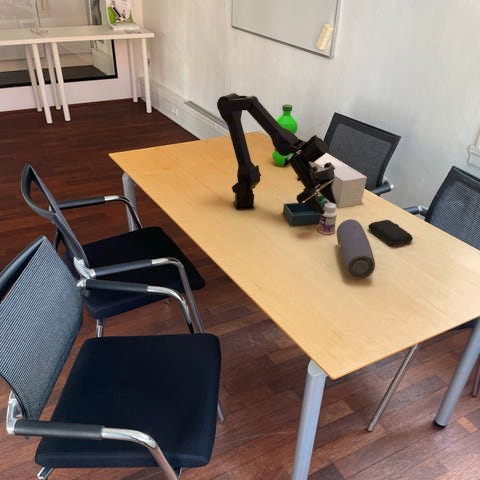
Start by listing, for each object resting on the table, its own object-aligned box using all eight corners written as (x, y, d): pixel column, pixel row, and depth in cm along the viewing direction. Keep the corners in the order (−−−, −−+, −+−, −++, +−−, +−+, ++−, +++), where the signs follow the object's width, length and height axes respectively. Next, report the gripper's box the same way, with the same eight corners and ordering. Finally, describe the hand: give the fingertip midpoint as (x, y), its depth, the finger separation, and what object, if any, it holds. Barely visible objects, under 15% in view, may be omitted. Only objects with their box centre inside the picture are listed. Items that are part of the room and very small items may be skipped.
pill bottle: (317, 227, 166) (320, 201, 160) (331, 227, 166) (336, 201, 160) (320, 234, 161) (324, 208, 155) (335, 234, 162) (340, 208, 156)
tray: (291, 226, 166) (292, 216, 163) (282, 213, 173) (283, 203, 171) (323, 223, 168) (325, 213, 166) (313, 211, 176) (314, 201, 173)
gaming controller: (318, 215, 177) (331, 206, 174) (312, 207, 176) (325, 198, 173) (320, 205, 184) (332, 196, 181) (314, 197, 183) (327, 188, 180)
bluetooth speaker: (332, 244, 156) (337, 217, 150) (359, 245, 156) (365, 218, 150) (341, 282, 139) (347, 253, 132) (372, 283, 139) (380, 254, 132)
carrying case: (416, 243, 159) (389, 224, 169) (419, 235, 157) (391, 216, 167) (391, 248, 155) (365, 229, 166) (393, 240, 153) (366, 221, 164)
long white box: (296, 177, 201) (299, 152, 194) (317, 174, 205) (321, 149, 198) (338, 207, 179) (343, 180, 172) (361, 203, 182) (367, 177, 176)
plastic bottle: (266, 164, 212) (270, 106, 196) (278, 158, 219) (283, 101, 203) (285, 169, 208) (291, 110, 192) (297, 163, 214) (303, 105, 199)
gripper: (309, 164, 144) (336, 207, 146) (333, 148, 157) (358, 188, 159) (284, 183, 152) (310, 223, 155) (309, 166, 165) (333, 203, 167)
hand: (329, 208), depth 159 cm, fingers open, 9 cm apart
